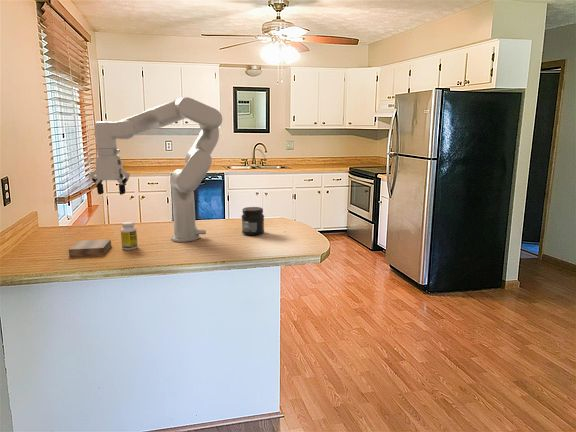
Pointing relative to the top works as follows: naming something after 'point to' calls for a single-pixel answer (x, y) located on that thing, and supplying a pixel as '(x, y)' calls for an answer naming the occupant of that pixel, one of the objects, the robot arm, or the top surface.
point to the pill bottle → (128, 236)
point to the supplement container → (252, 221)
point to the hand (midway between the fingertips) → (111, 193)
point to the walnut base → (90, 248)
